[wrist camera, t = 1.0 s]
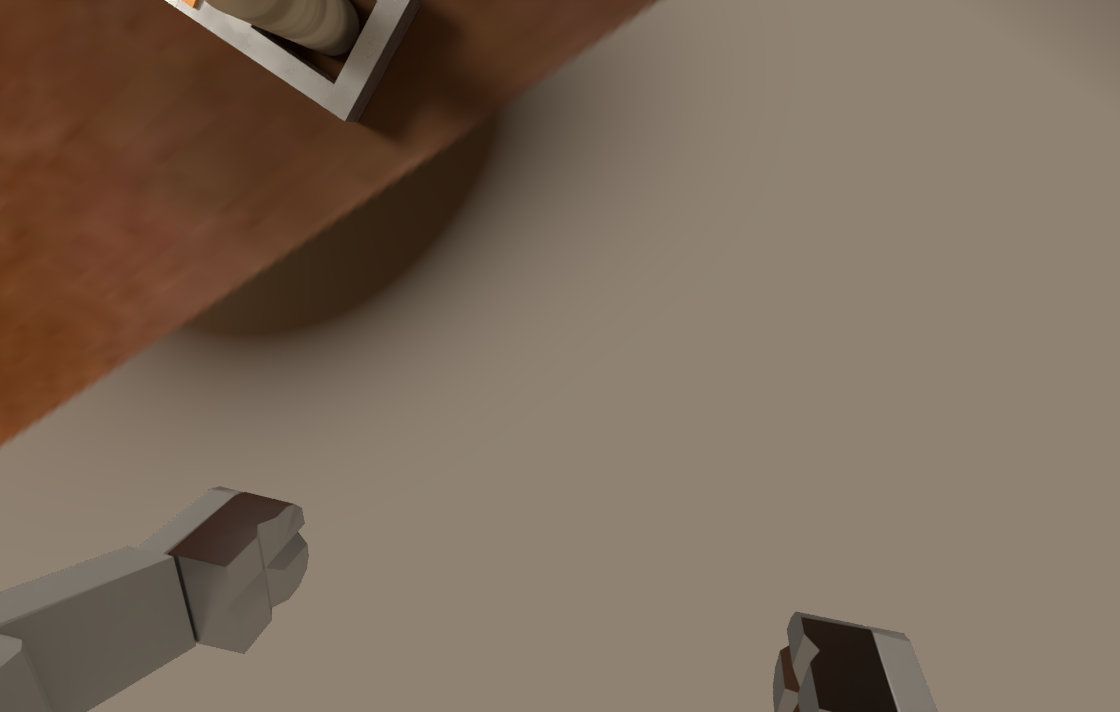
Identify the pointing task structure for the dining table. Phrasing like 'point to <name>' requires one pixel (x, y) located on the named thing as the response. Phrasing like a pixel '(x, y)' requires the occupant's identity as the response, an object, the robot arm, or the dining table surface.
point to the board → (335, 95)
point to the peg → (300, 21)
